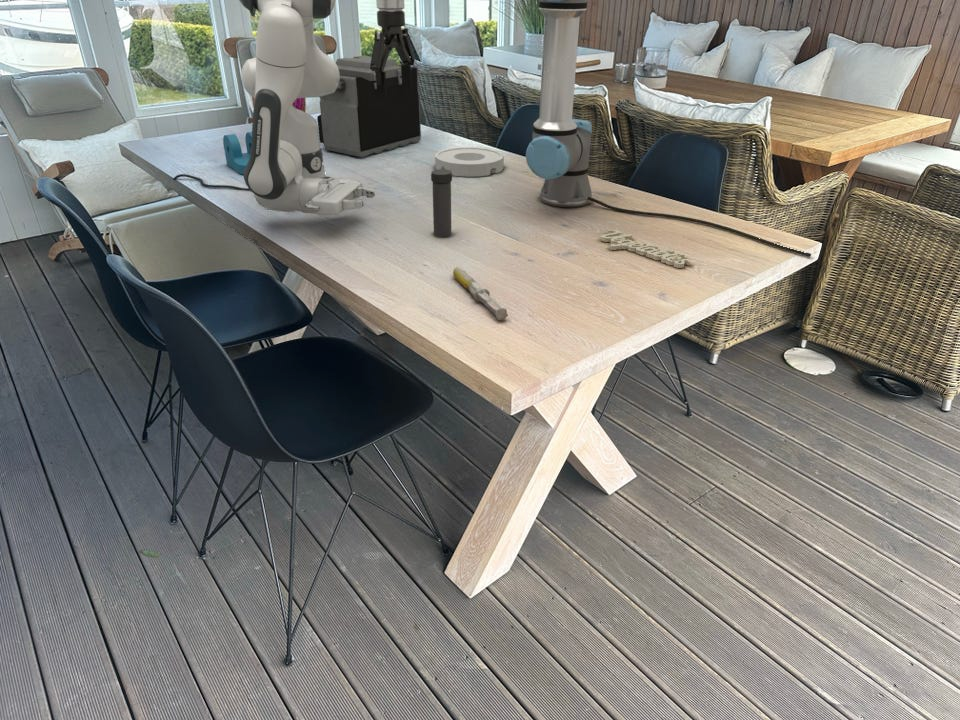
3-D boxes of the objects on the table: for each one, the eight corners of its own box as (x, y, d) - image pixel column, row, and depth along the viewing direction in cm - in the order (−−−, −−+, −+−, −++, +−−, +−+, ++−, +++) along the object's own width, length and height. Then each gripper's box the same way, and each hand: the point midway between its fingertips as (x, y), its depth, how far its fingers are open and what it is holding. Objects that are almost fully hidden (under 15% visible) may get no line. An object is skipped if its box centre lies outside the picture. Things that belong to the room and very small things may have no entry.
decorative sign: (586, 237, 174) (611, 228, 179) (586, 240, 174) (611, 231, 180) (674, 268, 157) (698, 257, 162) (673, 272, 157) (698, 261, 163)
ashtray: (438, 158, 243) (438, 146, 241) (503, 159, 243) (503, 147, 241) (432, 176, 223) (431, 163, 221) (503, 177, 223) (503, 165, 221)
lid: (447, 176, 173) (447, 168, 172) (455, 182, 169) (455, 173, 168) (428, 179, 171) (428, 170, 170) (435, 184, 167) (435, 175, 166)
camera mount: (227, 164, 233) (221, 132, 227) (257, 160, 238) (252, 129, 233) (244, 176, 220) (239, 143, 215) (276, 172, 225) (271, 139, 220)
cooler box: (383, 133, 276) (378, 52, 261) (425, 141, 265) (422, 56, 250) (314, 150, 251) (304, 61, 235) (358, 160, 240) (350, 67, 224)
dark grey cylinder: (447, 230, 180) (446, 170, 172) (454, 236, 176) (453, 175, 168) (431, 232, 178) (429, 172, 170) (437, 238, 175) (436, 177, 167)
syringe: (449, 274, 155) (449, 263, 153) (465, 272, 156) (464, 260, 154) (490, 323, 135) (491, 310, 133) (508, 319, 136) (508, 307, 134)
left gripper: (299, 195, 167) (354, 198, 165) (329, 174, 185) (379, 176, 183) (302, 220, 170) (356, 223, 168) (331, 197, 188) (380, 200, 186)
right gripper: (402, 7, 197) (405, 85, 208) (352, 12, 178) (359, 98, 188) (425, 8, 194) (427, 87, 205) (377, 13, 175) (382, 101, 186)
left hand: (368, 198), depth 176 cm, fingers open, 8 cm apart
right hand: (394, 93), depth 197 cm, fingers open, 13 cm apart
